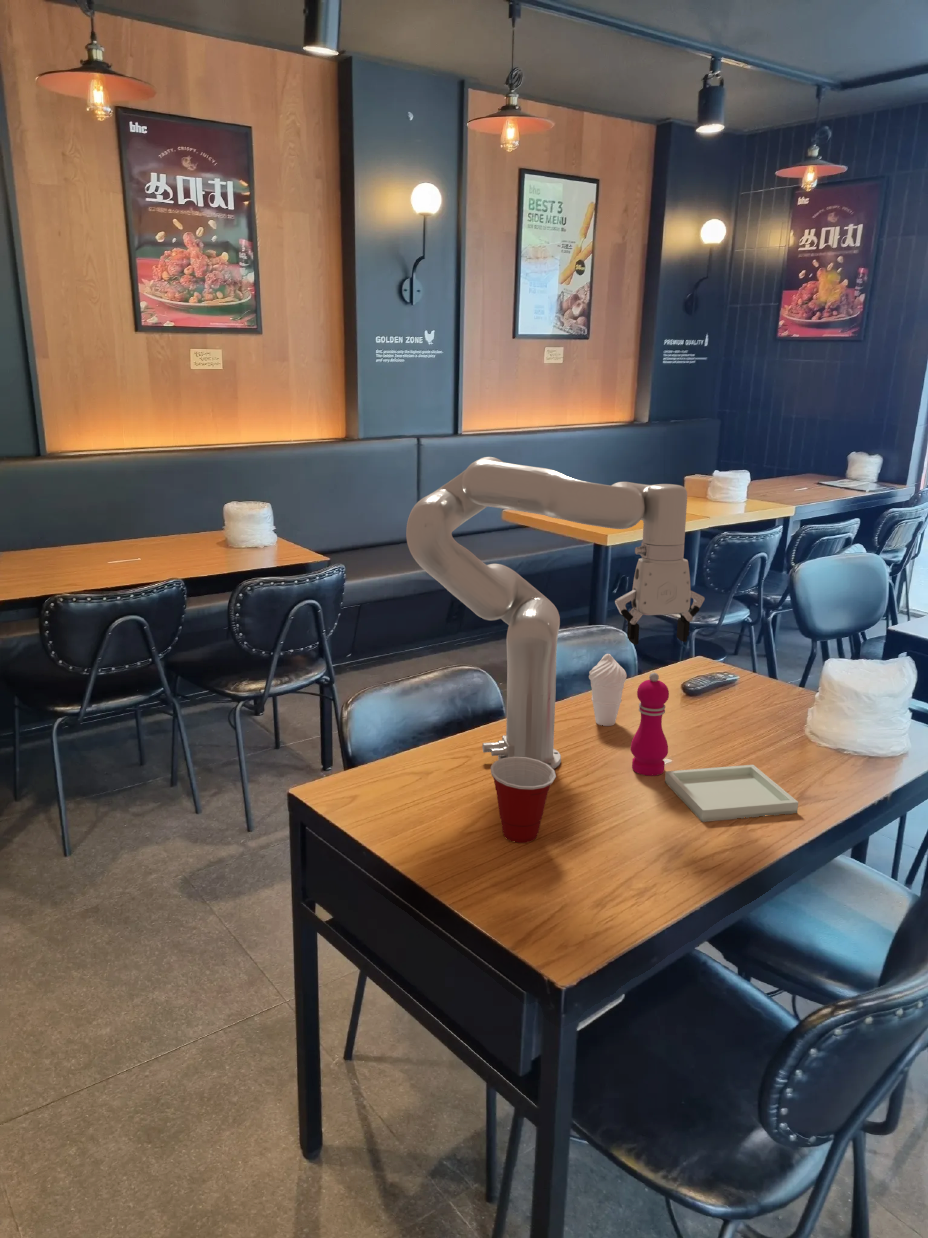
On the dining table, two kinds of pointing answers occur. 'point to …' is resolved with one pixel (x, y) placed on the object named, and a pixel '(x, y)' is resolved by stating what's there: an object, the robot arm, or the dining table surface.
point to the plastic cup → (521, 795)
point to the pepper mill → (650, 728)
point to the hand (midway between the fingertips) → (657, 641)
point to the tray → (730, 793)
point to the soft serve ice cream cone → (607, 689)
